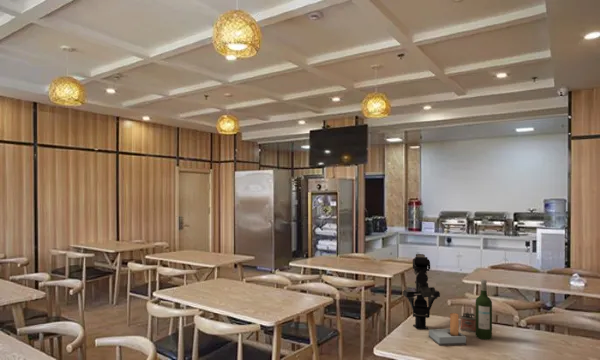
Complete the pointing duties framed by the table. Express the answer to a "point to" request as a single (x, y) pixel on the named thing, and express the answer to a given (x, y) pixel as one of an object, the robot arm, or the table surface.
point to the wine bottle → (483, 314)
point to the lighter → (468, 322)
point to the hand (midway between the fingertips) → (421, 309)
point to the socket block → (446, 337)
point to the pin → (454, 324)
